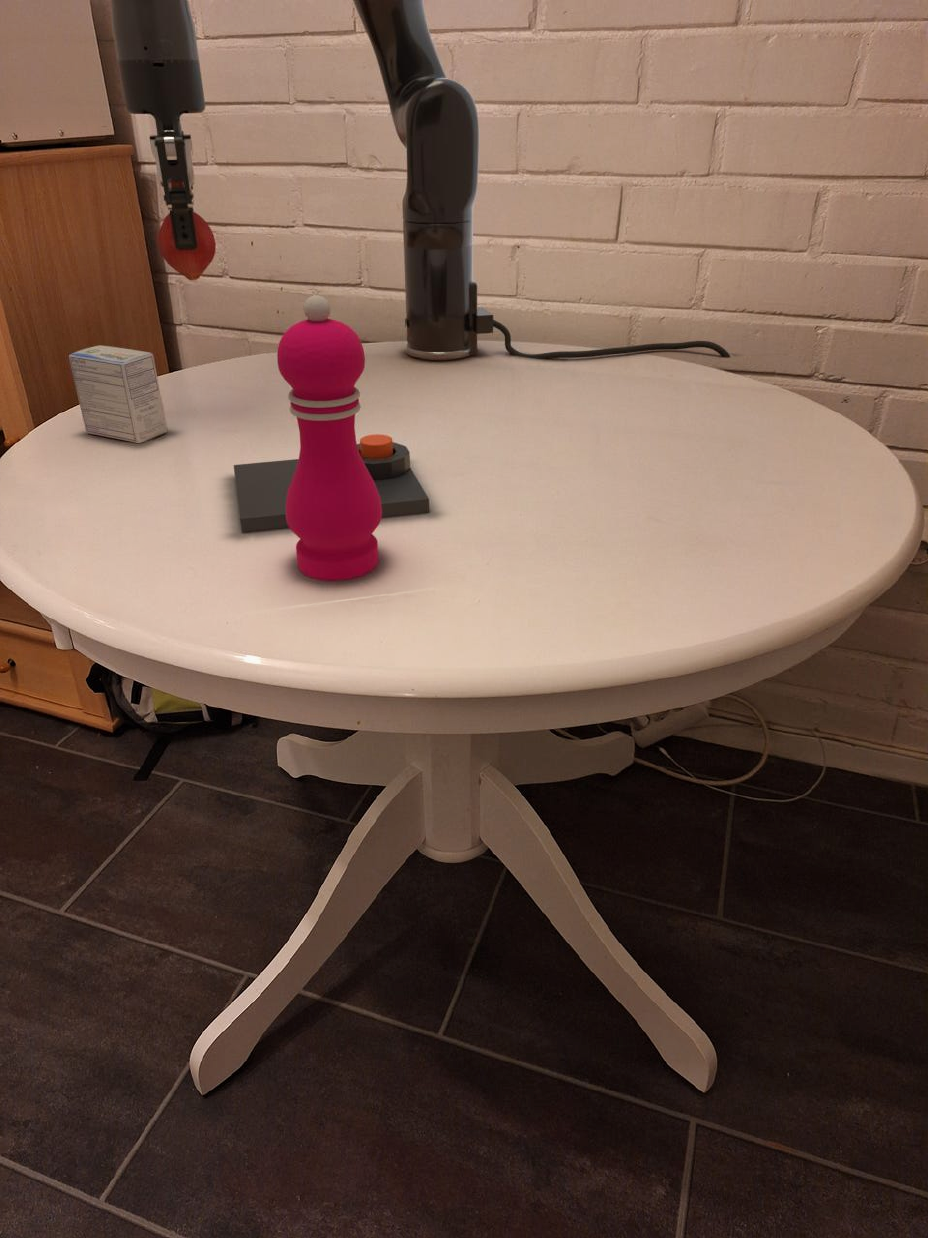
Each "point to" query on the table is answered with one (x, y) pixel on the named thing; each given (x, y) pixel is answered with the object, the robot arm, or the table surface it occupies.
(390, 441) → the button
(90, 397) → the medicine box
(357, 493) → the pepper mill
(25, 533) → the table surface
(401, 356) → the table surface
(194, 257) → the onion
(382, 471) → the scale
